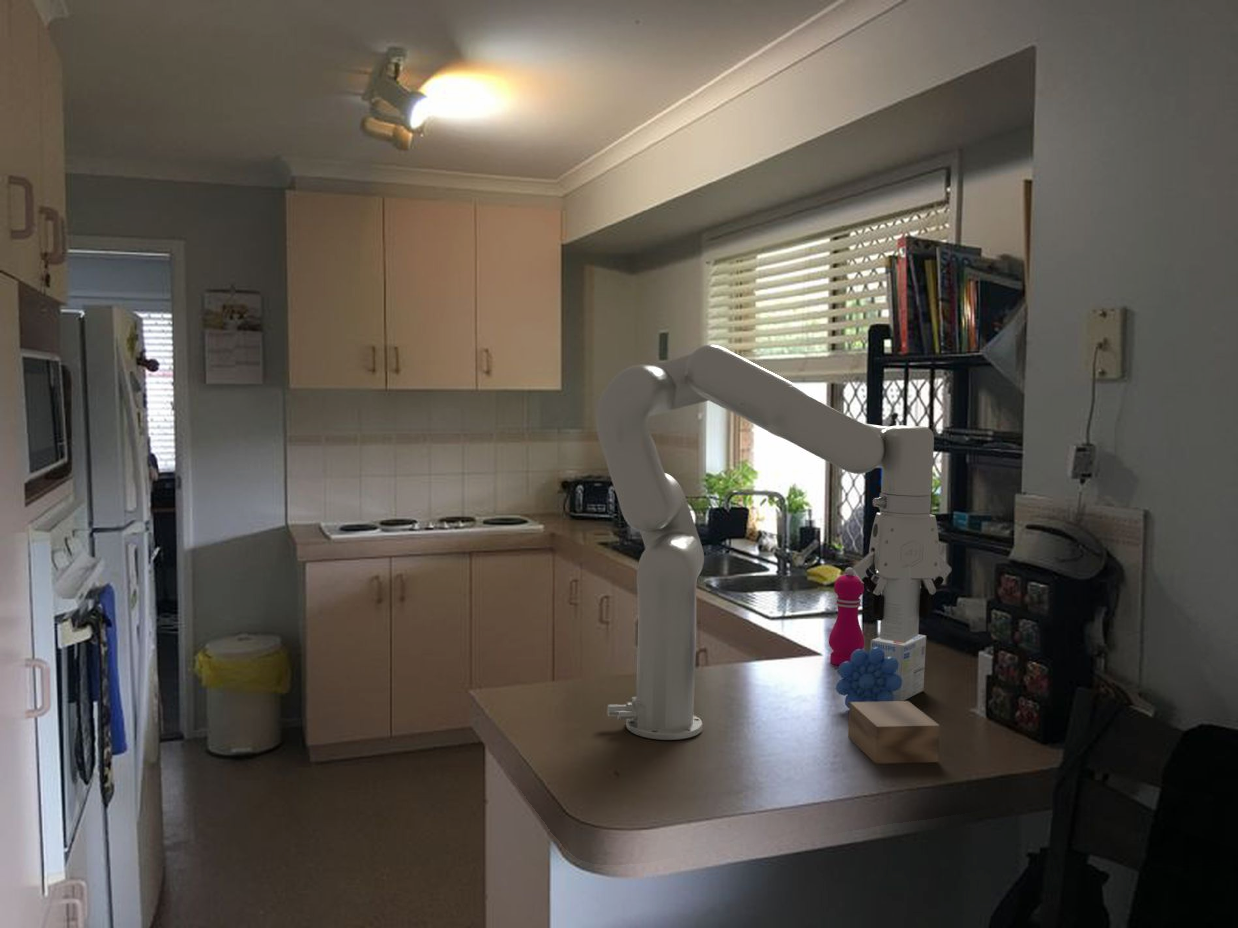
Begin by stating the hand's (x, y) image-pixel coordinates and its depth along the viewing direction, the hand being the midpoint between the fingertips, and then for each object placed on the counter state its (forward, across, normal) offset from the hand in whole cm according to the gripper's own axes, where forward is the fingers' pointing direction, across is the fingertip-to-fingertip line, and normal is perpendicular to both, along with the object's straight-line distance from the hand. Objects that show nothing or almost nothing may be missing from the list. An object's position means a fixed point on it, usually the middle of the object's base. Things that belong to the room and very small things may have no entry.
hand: (899, 617), depth 163 cm
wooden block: (+21, 0, 0) cm, 21 cm away
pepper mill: (+21, +13, +49) cm, 55 cm away
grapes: (+21, +4, +18) cm, 28 cm away
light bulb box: (+21, +14, +28) cm, 38 cm away
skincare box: (+3, 0, 0) cm, 3 cm away
